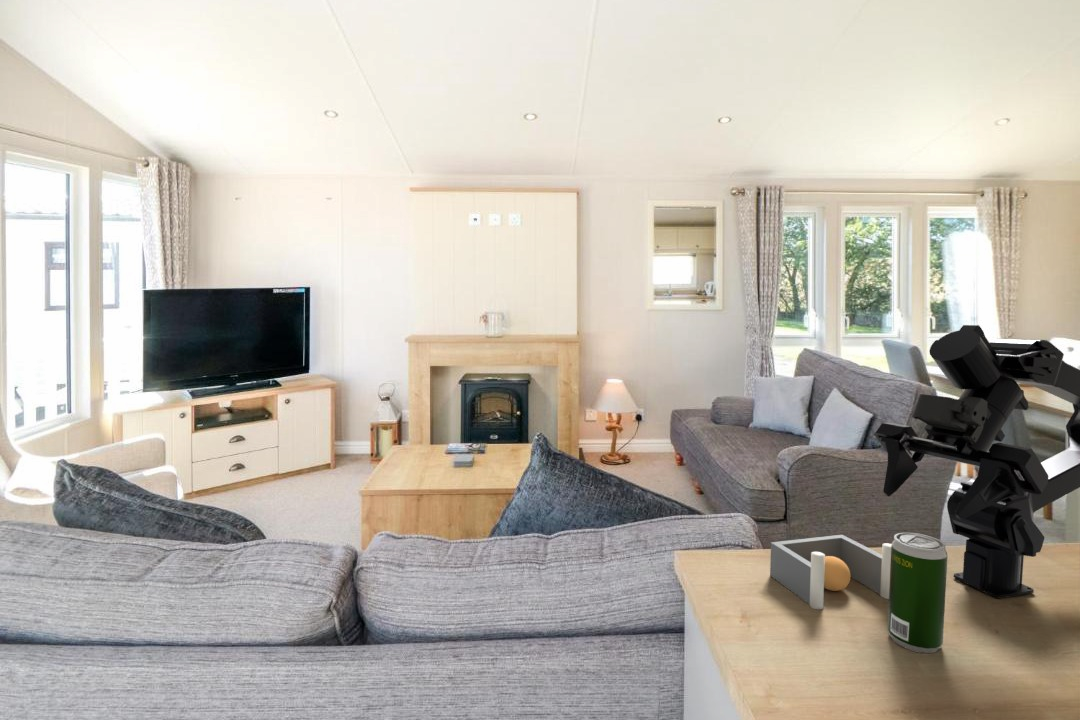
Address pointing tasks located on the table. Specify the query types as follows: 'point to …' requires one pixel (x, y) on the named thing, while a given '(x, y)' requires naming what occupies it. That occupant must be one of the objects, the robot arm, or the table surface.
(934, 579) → the beer can
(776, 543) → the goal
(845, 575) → the ball
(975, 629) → the table surface
